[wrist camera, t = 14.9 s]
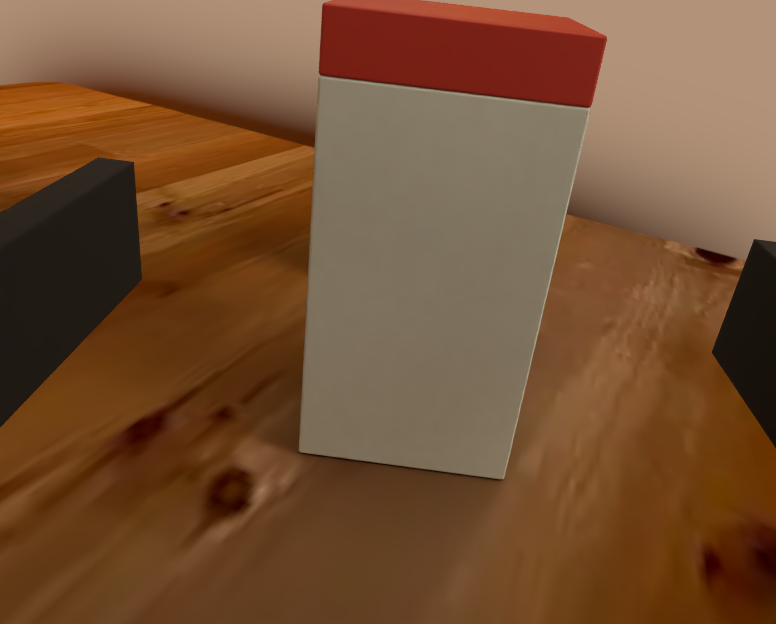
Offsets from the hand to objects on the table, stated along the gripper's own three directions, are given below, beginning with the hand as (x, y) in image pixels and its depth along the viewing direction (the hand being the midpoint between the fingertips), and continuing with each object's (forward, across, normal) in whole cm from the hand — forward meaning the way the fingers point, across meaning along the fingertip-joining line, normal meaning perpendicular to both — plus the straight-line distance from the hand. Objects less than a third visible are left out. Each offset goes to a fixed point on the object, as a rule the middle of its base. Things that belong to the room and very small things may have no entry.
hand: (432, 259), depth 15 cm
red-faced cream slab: (+11, 0, -6) cm, 12 cm away
